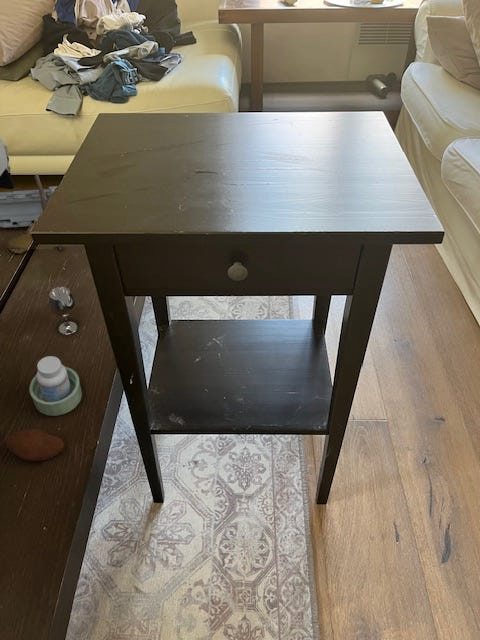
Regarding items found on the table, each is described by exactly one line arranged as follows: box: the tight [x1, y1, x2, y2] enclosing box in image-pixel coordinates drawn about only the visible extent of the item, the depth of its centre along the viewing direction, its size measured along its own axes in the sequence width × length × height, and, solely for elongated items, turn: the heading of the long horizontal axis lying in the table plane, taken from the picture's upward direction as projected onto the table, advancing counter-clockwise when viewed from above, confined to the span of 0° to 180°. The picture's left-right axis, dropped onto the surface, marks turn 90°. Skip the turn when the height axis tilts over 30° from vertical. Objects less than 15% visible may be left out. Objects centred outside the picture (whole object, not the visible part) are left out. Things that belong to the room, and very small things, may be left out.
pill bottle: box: [36, 355, 72, 402], centre depth 106 cm, size 6×6×11 cm
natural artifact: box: [34, 173, 63, 251], centre depth 146 cm, size 4×23×4 cm
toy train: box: [0, 185, 59, 229], centre depth 153 cm, size 11×28×15 cm
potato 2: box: [5, 428, 65, 462], centre depth 99 cm, size 6×12×6 cm, turn 89°
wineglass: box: [48, 286, 78, 336], centre depth 121 cm, size 6×6×12 cm
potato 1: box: [6, 233, 38, 250], centre depth 143 cm, size 7×8×8 cm
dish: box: [29, 365, 83, 417], centre depth 109 cm, size 10×10×5 cm
